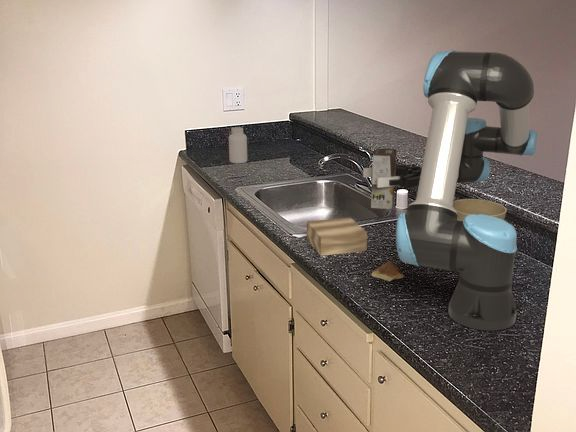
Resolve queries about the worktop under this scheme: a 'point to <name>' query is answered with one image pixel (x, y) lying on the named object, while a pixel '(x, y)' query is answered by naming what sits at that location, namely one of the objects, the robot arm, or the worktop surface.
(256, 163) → the worktop surface
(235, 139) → the pill bottle
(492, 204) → the plant pot
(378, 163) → the coffee box
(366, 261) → the worktop surface
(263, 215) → the worktop surface
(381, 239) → the worktop surface
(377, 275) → the shard
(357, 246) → the maple block
